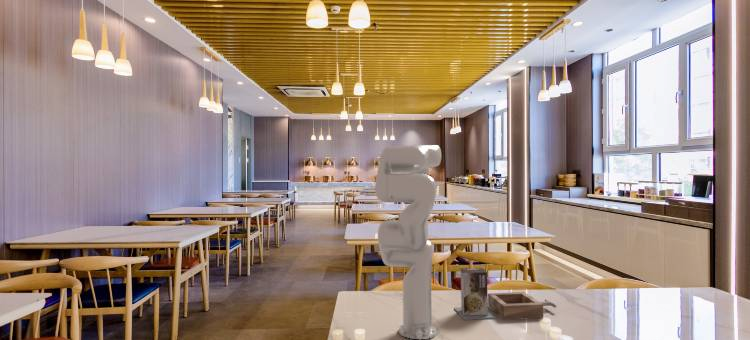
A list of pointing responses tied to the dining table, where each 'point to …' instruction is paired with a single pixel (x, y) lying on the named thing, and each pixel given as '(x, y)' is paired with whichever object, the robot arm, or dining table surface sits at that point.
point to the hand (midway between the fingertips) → (419, 222)
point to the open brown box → (517, 305)
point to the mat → (470, 317)
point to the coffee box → (474, 291)
